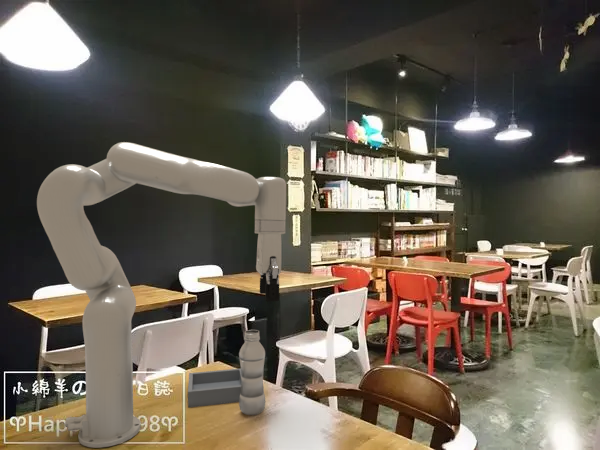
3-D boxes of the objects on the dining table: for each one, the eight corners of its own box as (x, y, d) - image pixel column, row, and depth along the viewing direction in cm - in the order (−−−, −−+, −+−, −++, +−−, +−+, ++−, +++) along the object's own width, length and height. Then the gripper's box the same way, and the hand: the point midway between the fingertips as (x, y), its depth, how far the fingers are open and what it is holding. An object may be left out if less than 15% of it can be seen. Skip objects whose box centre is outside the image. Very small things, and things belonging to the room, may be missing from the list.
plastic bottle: (254, 403, 106) (254, 326, 105) (271, 412, 101) (270, 332, 100) (233, 411, 101) (233, 331, 101) (249, 421, 96) (249, 337, 96)
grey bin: (188, 407, 104) (187, 391, 104) (189, 387, 116) (189, 373, 116) (247, 401, 107) (247, 385, 107) (242, 381, 120) (242, 368, 120)
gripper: (250, 226, 108) (249, 291, 109) (259, 228, 91) (258, 304, 92) (278, 227, 110) (277, 290, 110) (292, 228, 93) (291, 303, 93)
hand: (268, 297), depth 101 cm, fingers open, 9 cm apart
